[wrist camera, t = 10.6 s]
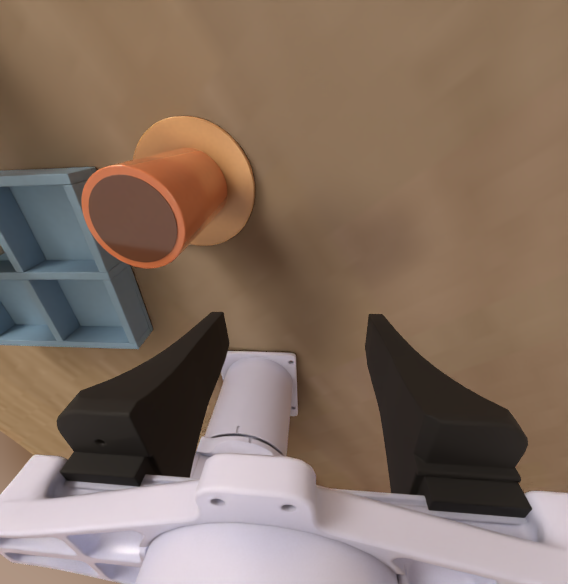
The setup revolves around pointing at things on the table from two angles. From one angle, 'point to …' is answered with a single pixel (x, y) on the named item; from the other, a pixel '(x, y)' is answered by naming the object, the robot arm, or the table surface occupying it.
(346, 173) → the table surface
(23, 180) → the rack
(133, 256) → the tumbler
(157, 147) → the coaster
